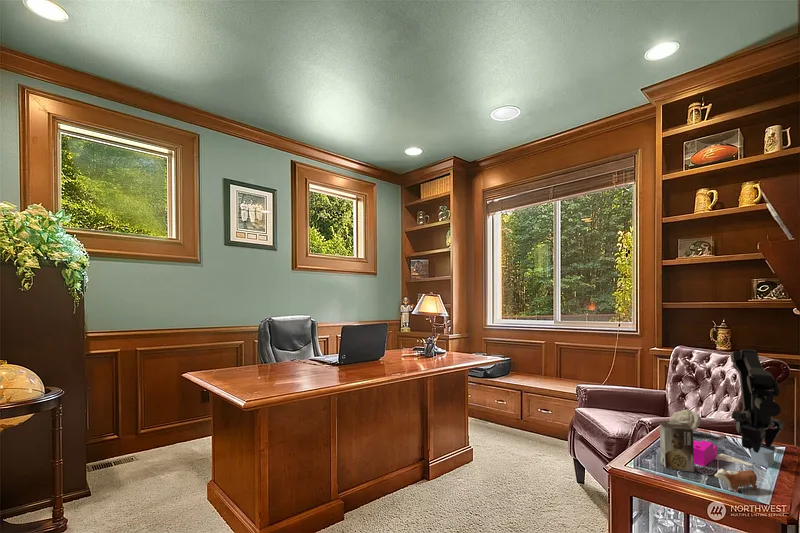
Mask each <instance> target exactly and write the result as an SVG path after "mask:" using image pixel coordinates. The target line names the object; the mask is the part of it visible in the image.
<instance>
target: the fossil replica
mask: <svg viewBox="0 0 800 533" xmlns="http://www.w3.org/2000/svg"><path fill="white" fill-rule="evenodd" d="M668 421H669V422H678V423H687V424H688V425H689V426H690V427H691V428H692V429H693V432H694V431H696V430H698V427H699V426H700V424H701V421H702V418H701V415H699V413H697V411H693V410H691V409H687V408H686V409H683V410H679V411H678V410H677V411H675V412H673V413H672V415H671V416H670V417H669V420H668Z"/></svg>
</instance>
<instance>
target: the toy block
mask: <svg viewBox="0 0 800 533" xmlns="http://www.w3.org/2000/svg"><path fill="white" fill-rule="evenodd" d="M713 443H714V442H711V441H706V440H703V439H701V441H699V440H694V439H693V450H694V465H698V466H702V467H706V466H707V465H709V463H711V462H712V461H714V460H716V459H715V458H716V457H717V455H718V446H717V445H714V444H713Z"/></svg>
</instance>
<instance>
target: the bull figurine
mask: <svg viewBox="0 0 800 533" xmlns="http://www.w3.org/2000/svg"><path fill="white" fill-rule="evenodd" d="M714 477H715V479H716V478H717V479H720V480H721V481H723V483H725V484H726V485H727V486H728V488H729V489H733V492H735V493H737V492H738V490H739V487H740V488H746V487H747V488H749V487H752V488H753V489H752V490H753V491H757V488H758V485H757V480H758V477H757V474H756V473H755V471H754V470H751V469H750V470H740V471H733V470H725V469H723V468H720V469H718V470H717V472H716V473H715V474H714Z"/></svg>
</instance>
